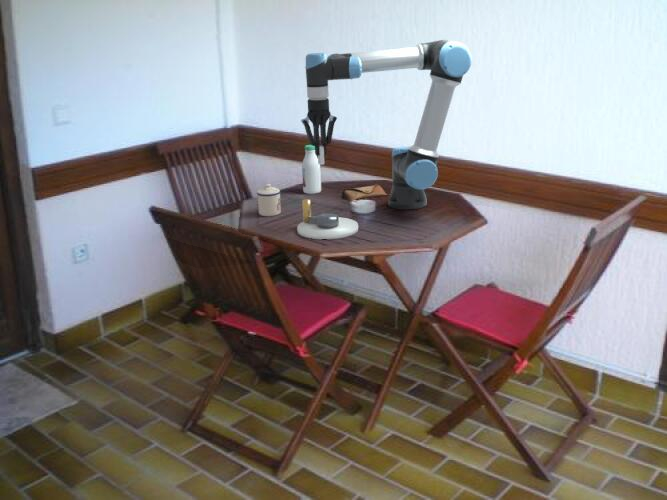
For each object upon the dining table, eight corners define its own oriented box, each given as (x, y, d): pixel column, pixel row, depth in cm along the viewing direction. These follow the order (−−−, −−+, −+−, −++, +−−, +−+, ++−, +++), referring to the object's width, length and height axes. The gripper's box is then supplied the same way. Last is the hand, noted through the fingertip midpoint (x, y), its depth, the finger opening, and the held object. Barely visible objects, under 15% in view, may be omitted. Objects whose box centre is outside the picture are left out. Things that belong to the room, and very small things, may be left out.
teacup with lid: (283, 215, 301) (281, 186, 297) (259, 217, 299) (257, 188, 295) (279, 207, 312) (277, 178, 308) (256, 209, 310) (254, 180, 306)
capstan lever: (343, 223, 282) (342, 201, 279) (330, 229, 275) (329, 207, 273) (310, 217, 289) (309, 197, 287) (297, 223, 283) (296, 202, 281)
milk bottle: (324, 190, 334) (322, 144, 328) (316, 194, 328) (314, 147, 321) (308, 189, 337) (306, 143, 331) (300, 193, 331) (297, 147, 324)
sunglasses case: (351, 201, 315) (347, 186, 316) (345, 207, 321) (340, 191, 322) (390, 195, 323) (385, 180, 324) (382, 200, 329) (378, 185, 330)
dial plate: (362, 221, 290) (362, 216, 289) (353, 240, 269) (353, 235, 269) (304, 220, 294) (304, 216, 293) (291, 238, 273) (291, 234, 273)
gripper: (331, 95, 280) (334, 159, 288) (297, 98, 276) (300, 164, 283) (339, 97, 273) (341, 163, 281) (303, 101, 269) (307, 168, 277)
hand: (321, 163), depth 282 cm, fingers closed
